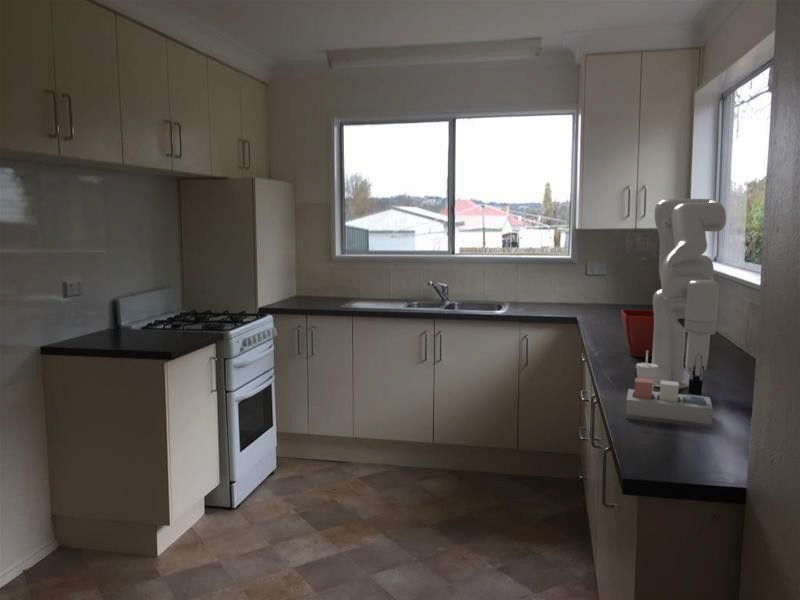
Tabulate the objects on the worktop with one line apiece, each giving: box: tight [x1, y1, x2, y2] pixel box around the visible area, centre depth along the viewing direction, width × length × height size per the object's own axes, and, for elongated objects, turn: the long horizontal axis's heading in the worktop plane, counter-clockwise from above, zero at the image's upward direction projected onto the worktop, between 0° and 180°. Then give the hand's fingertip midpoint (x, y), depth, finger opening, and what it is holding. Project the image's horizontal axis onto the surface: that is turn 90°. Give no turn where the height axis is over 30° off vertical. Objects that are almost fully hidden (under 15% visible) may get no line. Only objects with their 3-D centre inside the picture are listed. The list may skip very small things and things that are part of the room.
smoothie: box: [635, 351, 658, 391], centre depth 195 cm, size 6×6×14 cm
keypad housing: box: [625, 388, 714, 429], centre depth 175 cm, size 12×21×5 cm, turn 68°
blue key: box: [684, 394, 705, 405], centre depth 173 cm, size 4×4×4 cm
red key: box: [634, 377, 653, 399], centre depth 177 cm, size 4×4×4 cm
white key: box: [659, 380, 680, 402], centre depth 175 cm, size 4×4×4 cm
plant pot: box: [620, 308, 679, 358], centre depth 256 cm, size 19×19×17 cm
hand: (694, 393), depth 173 cm, fingers closed
